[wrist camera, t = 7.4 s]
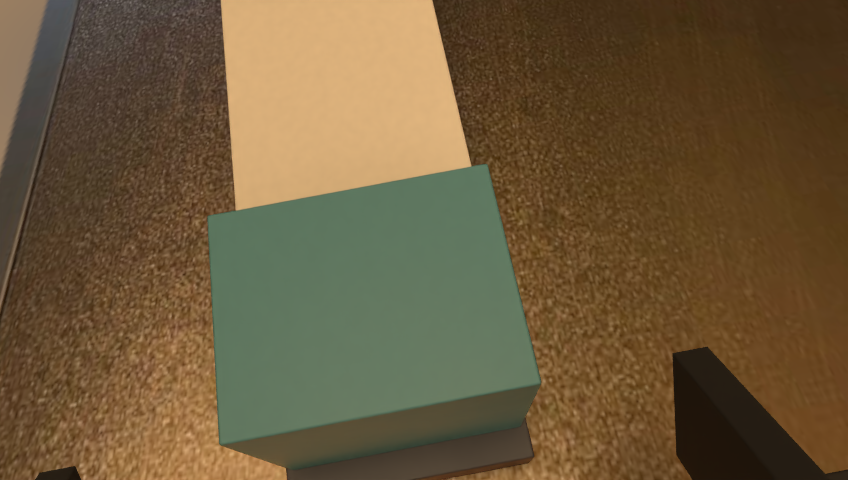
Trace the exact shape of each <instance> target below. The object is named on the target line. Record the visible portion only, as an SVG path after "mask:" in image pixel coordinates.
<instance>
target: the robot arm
mask: <svg viewBox="0 0 848 480" xmlns="http://www.w3.org/2000/svg"><path fill="white" fill-rule="evenodd" d="M673 376H674V402H675V427H676V453H677V456H678V458H679V459H680V461H681V463H682V464H683V466H684V467H685V469H686V470H687V472H688V473H689V475H690V476H691V478H692V479H693V480H848V470H844V471H838V472H833V473H828V474H825V473H824V472H823V471H822V470H821V469H820V468H819V467H818V466H817V465H816V464H815V463H814V461H813V460H812V459H811V458H810V457H809V456H808V455H807V454H806V453H805V452H804V451H803V450H802V449H801V447H800V446H799V445H798V444H797V443H796V442H795V441H794V440H793V439H792V438H791V437H790V436H789V435H788V433H787V432H786V431H785V430H784V429H783V428H782V427H781V426H780V425H779V424H778V423H777V422H776V420H775V419H774V418H773V417H772V416H771V415H770V414H769V413H768V412H767V411H766V410H765V409H764V408H763V406H762V405H761V404H760V403H759V402H758V401H757V400H756V399H755V398H754V397H753V396H752V395H751V394H750V392H749V391H748V390H747V389H746V388H745V387H744V386H743V385H742V384H741V383H740V382H739V381H738V380H737V378H736V377H735V376H734V375H733V374H732V373H731V372H730V371H729V370H728V369H727V368H726V367H725V365H724V364H723V363H722V362H721V361H720V360H719V359H718V358H717V357H716V356H715V355H714V354H713V353H712V351H711V350H710V349H709V348H708V347H703V348H698V349H693V350H687V351H682V352H677V353H673ZM35 480H81V478H80V476H79V474H78V472H77V469H76V467H75V466H73V467H68V468H63V469H57V470H52V471H47V472H42V473H39V475H38V476H37V478H36V479H35Z"/></svg>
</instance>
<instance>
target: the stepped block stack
mask: <svg viewBox="0 0 848 480" xmlns="http://www.w3.org/2000/svg"><path fill="white" fill-rule="evenodd" d="M221 10H222V24H223V38H224V52H225V66H226V80H227V94H228V108H229V122H230V136H231V150H232V163H233V177H234V191H235V205H236V211H231V212H225V213H220V214H215V215H209V216H208V218H207V219H208V239H209V258H210V277H211V296H212V315H213V334H214V353H215V373H216V392H217V411H218V430H219V444H220V445H221V446H224V447H227V448H230V449H233V450H236V451H239V452H241V453H244V454H247V455H250V456H253V457H256V458H259V459H262V460H265V461H268V462H271V463H274V464H276V465H279V466H282V467H285V468H286V472H287V480H442V479H448V478H453V477H458V476H463V475H468V474H474V473H479V472H484V471H489V470H494V469H500V468H505V467H510V466H515V465H520V464H525V463H529V462H530V461H531V459H532V458H533V457H534V453H533V448H532V444H531V440H530V436H529V431H528V427H527V423H526V418H525V416H526V414H527V412H528V410H529V408H530V406H531V404H532V402H533V399H534V397H535V395H536V393H537V391H538V389H539V387H540V385H541V379H540V375H539V370H538V366H537V362H536V358H535V354H534V350H533V346H532V342H531V338H530V334H529V330H528V326H527V322H526V318H525V314H524V310H523V306H522V302H521V298H520V294H519V290H518V286H517V282H516V278H515V274H514V270H513V265H512V261H511V257H510V253H509V249H508V245H507V241H506V237H505V233H504V229H503V225H502V221H501V217H500V213H499V209H498V205H497V201H496V197H495V193H494V189H493V185H492V181H491V177H490V173H489V169H488V165H487V164H482V165H477V166H471V162H470V158H469V154H468V149H467V145H466V141H465V137H464V133H463V128H462V124H461V120H460V116H459V111H458V107H457V103H456V99H455V94H454V90H453V86H452V82H451V78H450V73H449V69H448V65H447V61H446V56H445V52H444V48H443V44H442V39H441V35H440V31H439V27H438V23H437V18H436V14H435V10H434V6H433V1H432V0H221Z"/></svg>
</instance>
